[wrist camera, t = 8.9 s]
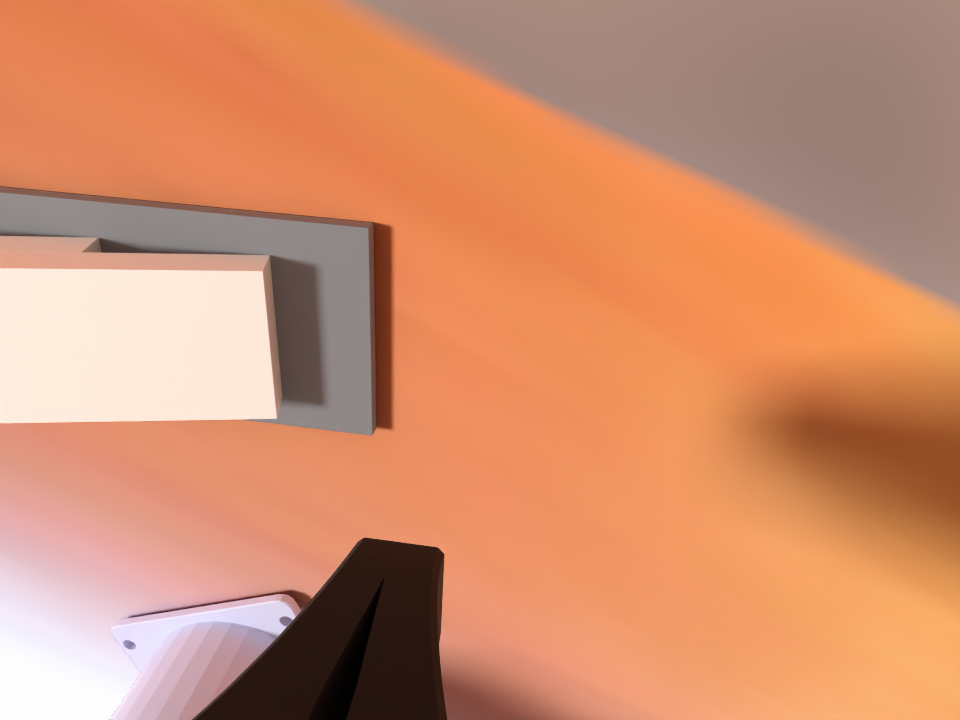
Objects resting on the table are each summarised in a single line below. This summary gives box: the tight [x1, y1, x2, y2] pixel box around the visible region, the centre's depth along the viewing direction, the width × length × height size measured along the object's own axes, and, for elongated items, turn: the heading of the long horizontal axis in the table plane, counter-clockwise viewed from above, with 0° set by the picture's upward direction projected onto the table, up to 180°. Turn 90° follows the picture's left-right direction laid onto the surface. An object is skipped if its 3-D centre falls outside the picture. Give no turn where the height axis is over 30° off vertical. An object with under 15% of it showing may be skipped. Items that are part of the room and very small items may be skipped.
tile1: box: [0, 251, 282, 423], centre depth 18 cm, size 1×4×8 cm
